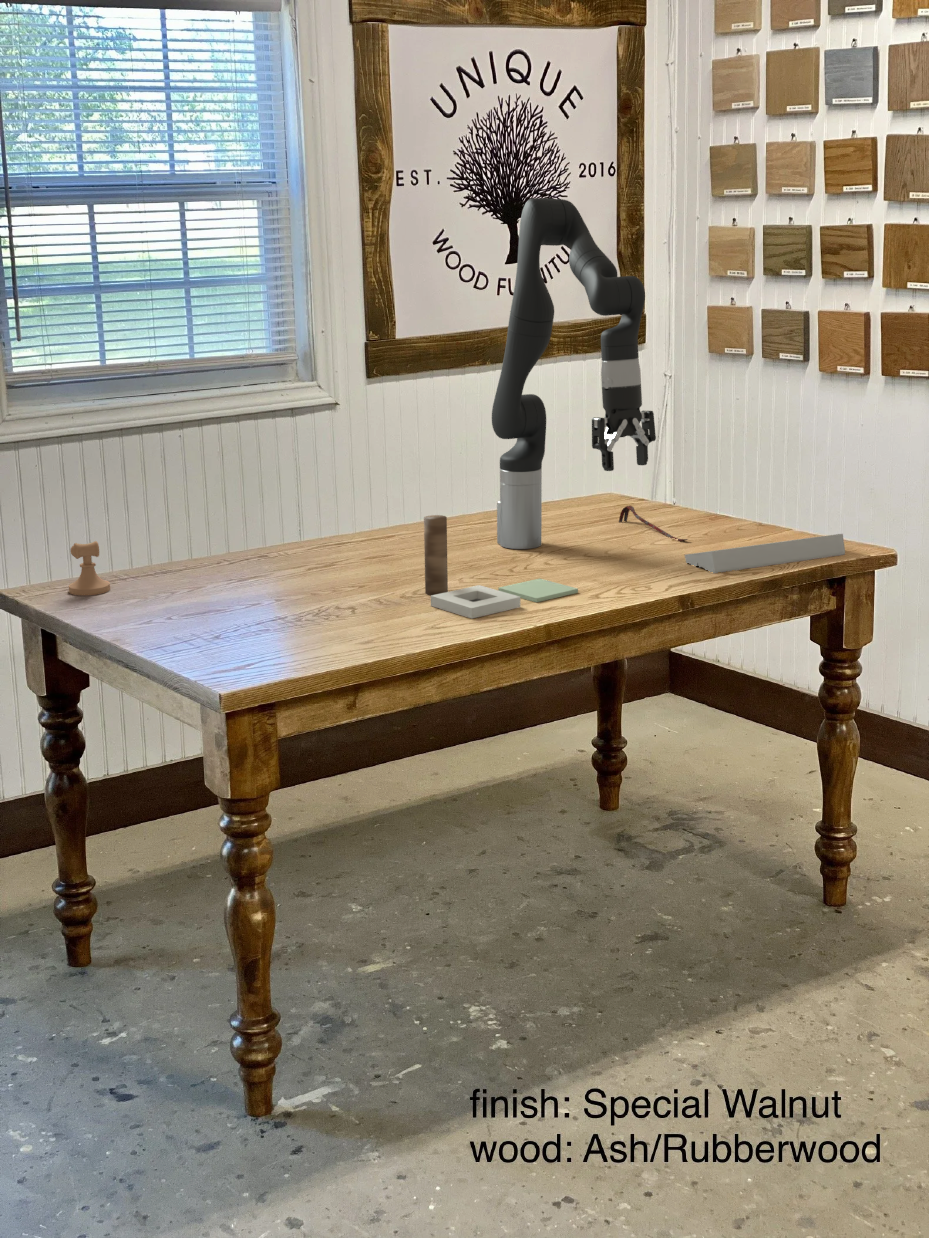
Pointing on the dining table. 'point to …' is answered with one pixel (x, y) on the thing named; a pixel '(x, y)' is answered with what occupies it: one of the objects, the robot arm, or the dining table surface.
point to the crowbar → (626, 511)
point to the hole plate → (475, 601)
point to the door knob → (87, 571)
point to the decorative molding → (768, 554)
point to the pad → (538, 590)
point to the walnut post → (435, 554)
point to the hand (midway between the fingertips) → (625, 467)
